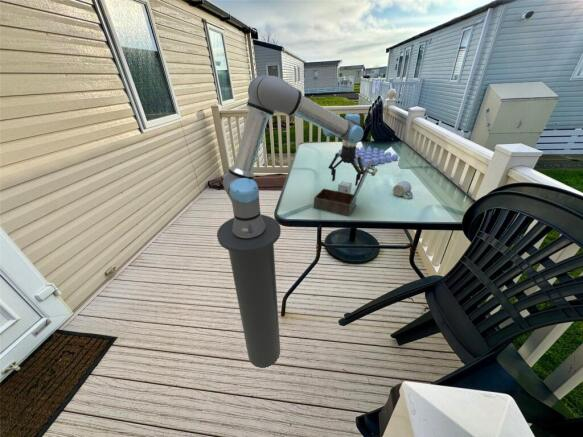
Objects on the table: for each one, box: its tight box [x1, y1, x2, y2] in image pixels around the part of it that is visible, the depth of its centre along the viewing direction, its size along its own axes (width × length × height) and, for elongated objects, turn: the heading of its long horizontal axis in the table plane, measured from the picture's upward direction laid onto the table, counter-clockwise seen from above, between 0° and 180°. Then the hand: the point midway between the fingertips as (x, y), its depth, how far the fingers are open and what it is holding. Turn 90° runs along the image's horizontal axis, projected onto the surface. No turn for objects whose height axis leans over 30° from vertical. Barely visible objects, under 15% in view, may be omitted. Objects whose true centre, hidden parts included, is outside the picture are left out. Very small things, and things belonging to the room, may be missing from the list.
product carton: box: [337, 180, 353, 194], centre depth 143 cm, size 6×6×7 cm
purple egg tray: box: [338, 145, 399, 168], centre depth 203 cm, size 35×34×5 cm
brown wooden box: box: [313, 188, 358, 217], centre depth 131 cm, size 19×13×6 cm
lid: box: [349, 160, 379, 205], centre depth 119 cm, size 20×13×5 cm
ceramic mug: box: [392, 180, 414, 200], centre depth 141 cm, size 11×8×8 cm
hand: (344, 182), depth 141 cm, fingers open, 13 cm apart
